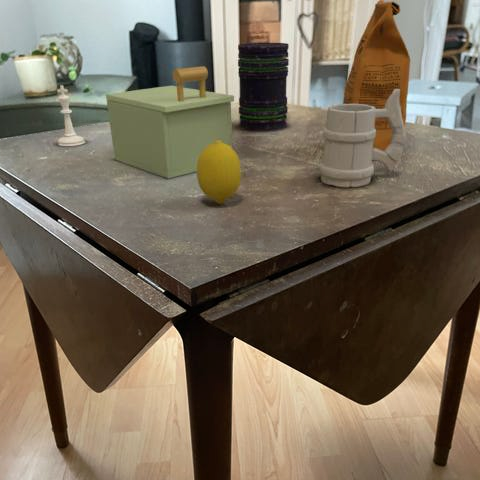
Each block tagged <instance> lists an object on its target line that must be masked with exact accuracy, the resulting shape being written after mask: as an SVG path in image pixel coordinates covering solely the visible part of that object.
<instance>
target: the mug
mask: <svg viewBox="0 0 480 480" xmlns="http://www.w3.org/2000/svg"><path fill="white" fill-rule="evenodd" d="M399 95H400V89H394V91H393V93H392V94H391V96H389V98H388V99H387V102H386V104H385V107H384V109H375V107H373V106H369V105H364V104H343V103H338V104H336V103H335V104H332V105H329V106H328V107H327V109H326V110H327V112H326V121H325V127H324V128H323V130H322V137H323V138H324V141H323V152H322V160H321V162H320V163H319V166H318V171H319V173H320V181H321V182H322V183H324V184H325V185H327V186H334V187H338V188H357V187H363V186H366V185H369V184H370V183H371V179H372V176H373V174H374V172H375V164H374V163H373V161H374V162H379V163H381V164H383V166H384V167H385V169H386V170H387V171H393V170H394V168H395V165H397V162H399V160H400V159H401V157H402V155H403V152H404V145H405V143H406V141H407V134H406V129H405V125H404V124H403V119H402V114H401V107H400V103H399ZM376 118H387V121H388V123H389V125H390V126H391V128H392V133H393V134H392V138H391V144H389V146H388V147H387V148H386V149H385V151H381V150H379V149H377V148H373V139H374V138H375V136H376V129H375V128H374V124H375V119H376Z"/></svg>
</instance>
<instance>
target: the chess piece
mask: <svg viewBox="0 0 480 480" xmlns="http://www.w3.org/2000/svg"><path fill="white" fill-rule="evenodd" d="M56 89H57V88H56ZM56 92H57V93H60V94H61V95H60V96H58V97H57V100H58V102H59V103H60V106H61V110H60V112H59V113H60V114H63V117H64V118H63V119H64V134H63V136H62V137H59V138H58V139H57V145H58V146H60V147H77V146H81V145H84V144H86V140H85V137H84V136H81V135H77V134H78V133H77V132H75V129H74V125H73V122H72V119H71V115H70V114H71V113H73V110H72V109H70V108H69V106H70V101H71V100H70V99H71V98H70V96H69V95H66V93H68V92H69V91H68V89H67V88H65V87H64V85H63V84H62V85H60V86H59V88H58V89H57V90H56Z"/></svg>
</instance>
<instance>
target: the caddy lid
mask: <svg viewBox="0 0 480 480" xmlns="http://www.w3.org/2000/svg"><path fill="white" fill-rule="evenodd" d="M208 77H209V72H208V69H207V67H206V66H204V65H202V66H193V67H184V68H176V69H173V71H172V80H173V81H174V83H175V84H176V85H166V86H158V87H150V88H142V89H136V90H130V91H121V92H113V93H106V94H105V98H106V101H107V100H111V101H115V102H120V103H124V104H129V105H133V106H138V107H142V108H147V109H152V110H156V111H161V112H165V113H166V112H172V111H178V110H184V109H190V108H196V107H202V106H208V105H214V104H220V103H226V102H231V103H232V102H235V95H232V94H225V93H220V92H213V91H207V90H206V80H207V79H208ZM197 81H198V89H195V88H188V87H184V83H190V82H197Z"/></svg>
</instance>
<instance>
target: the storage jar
mask: <svg viewBox="0 0 480 480" xmlns="http://www.w3.org/2000/svg"><path fill="white" fill-rule="evenodd" d="M237 47H238V48H237V50H238V54H237V57H238V59H237V67H238V72H237V73H238V77H239V98H238V105H239V107H238V114H239V120H240V122H239V128H240V129H242V130H244V131H249V132H250V131H251V132H273V131H280V130H284V129H286V128H287V127H288V126H287V125H288V123H287V118H288V115H287V114H288V109H289V107H288V106H287V105H288V97H287V81H288V80H287V77H288V76H289V67H288V66H289V65H290V64H289V63H290V62H289V61H290V59H289V47H290V46H289V43H287V42H285V43H284V42H249V43H240V44H238V45H237Z"/></svg>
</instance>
